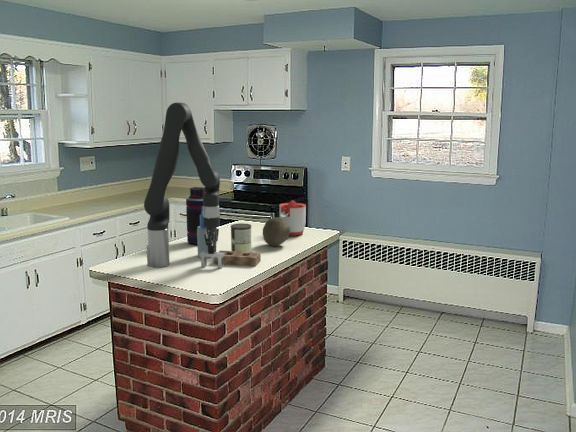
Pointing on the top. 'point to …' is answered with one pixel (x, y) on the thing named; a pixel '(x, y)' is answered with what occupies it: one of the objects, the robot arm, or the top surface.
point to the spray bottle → (201, 236)
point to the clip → (215, 254)
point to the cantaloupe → (276, 231)
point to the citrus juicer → (294, 216)
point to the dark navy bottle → (194, 212)
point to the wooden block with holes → (240, 258)
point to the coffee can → (241, 237)
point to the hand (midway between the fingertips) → (212, 252)
